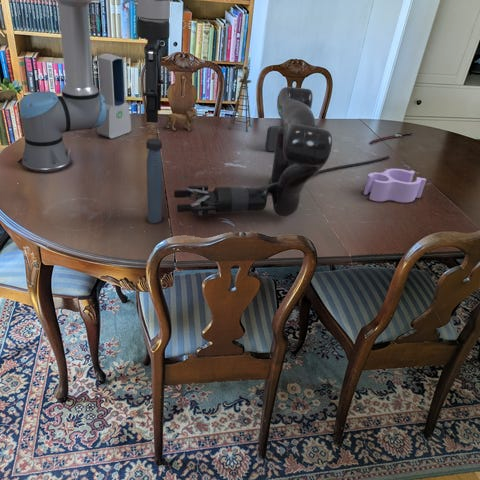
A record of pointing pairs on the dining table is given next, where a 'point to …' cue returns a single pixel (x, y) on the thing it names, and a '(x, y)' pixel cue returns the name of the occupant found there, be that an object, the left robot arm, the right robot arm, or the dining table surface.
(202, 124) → the dining table surface
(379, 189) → the clip
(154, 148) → the cap
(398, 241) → the dining table surface
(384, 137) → the sword
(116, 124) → the electronic device
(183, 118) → the lion figurine
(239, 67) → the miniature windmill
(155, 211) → the bottle
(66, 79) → the left robot arm
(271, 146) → the handheld gaming console
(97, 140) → the dining table surface
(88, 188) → the dining table surface
